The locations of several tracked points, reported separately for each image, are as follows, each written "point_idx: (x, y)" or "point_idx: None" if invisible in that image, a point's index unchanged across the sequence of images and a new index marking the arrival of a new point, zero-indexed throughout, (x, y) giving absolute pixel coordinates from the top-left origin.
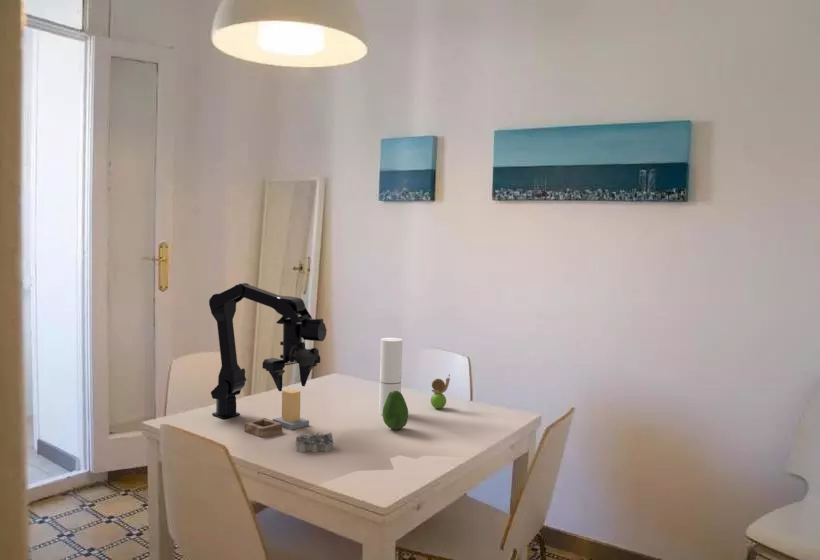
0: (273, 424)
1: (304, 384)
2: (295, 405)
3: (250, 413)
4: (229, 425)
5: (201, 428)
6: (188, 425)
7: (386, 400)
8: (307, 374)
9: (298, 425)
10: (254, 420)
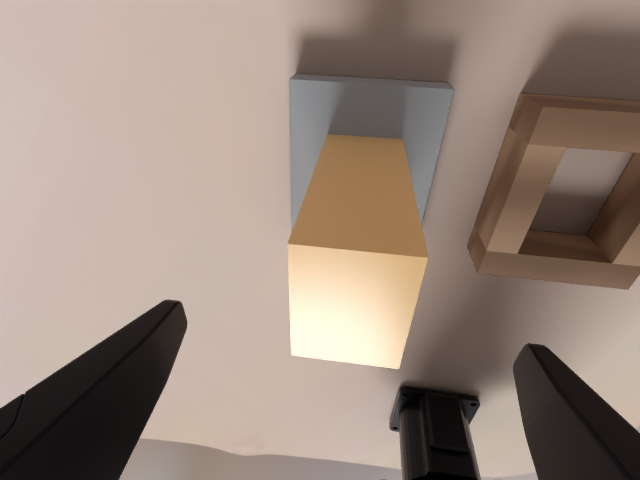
0: (589, 144)
1: (164, 312)
2: (366, 181)
3: (356, 375)
4: None
5: (632, 387)
6: None
7: None
8: (20, 427)
9: (386, 82)
10: (554, 280)
